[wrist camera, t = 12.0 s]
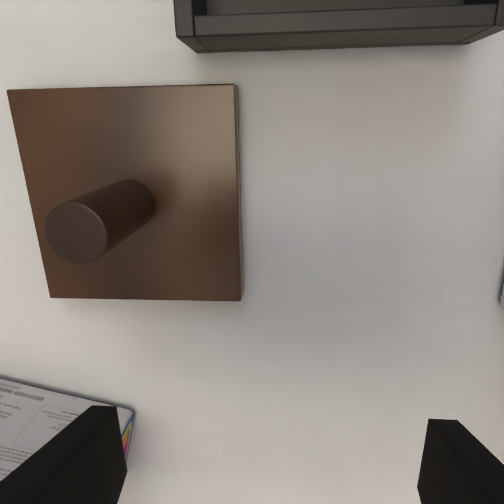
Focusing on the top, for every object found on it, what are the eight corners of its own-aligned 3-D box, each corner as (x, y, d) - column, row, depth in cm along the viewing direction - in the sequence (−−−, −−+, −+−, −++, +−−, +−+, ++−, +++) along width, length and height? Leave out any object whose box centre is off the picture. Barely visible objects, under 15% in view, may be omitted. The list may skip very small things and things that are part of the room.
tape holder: (237, 85, 15) (213, 67, 10) (243, 292, 18) (227, 364, 13) (21, 91, 16) (-110, 77, 10) (61, 289, 19) (-26, 355, 13)
